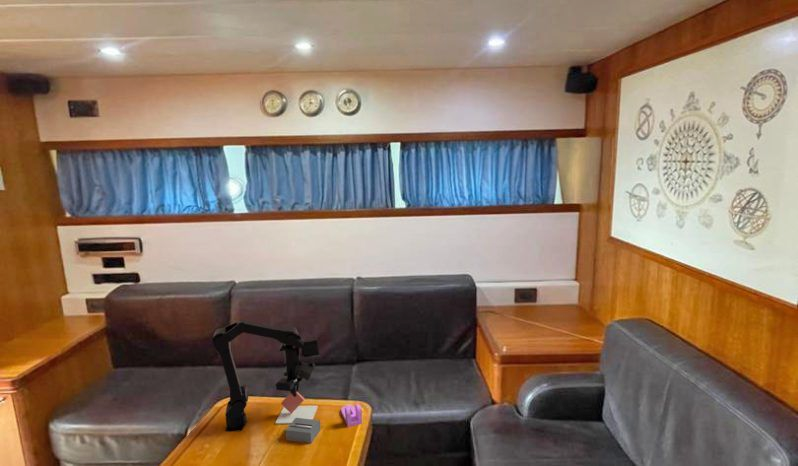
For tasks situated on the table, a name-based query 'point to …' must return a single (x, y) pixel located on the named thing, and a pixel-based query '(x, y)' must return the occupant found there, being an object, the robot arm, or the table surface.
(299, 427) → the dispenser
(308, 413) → the mat
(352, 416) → the bracket
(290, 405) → the pink rectangular prism
